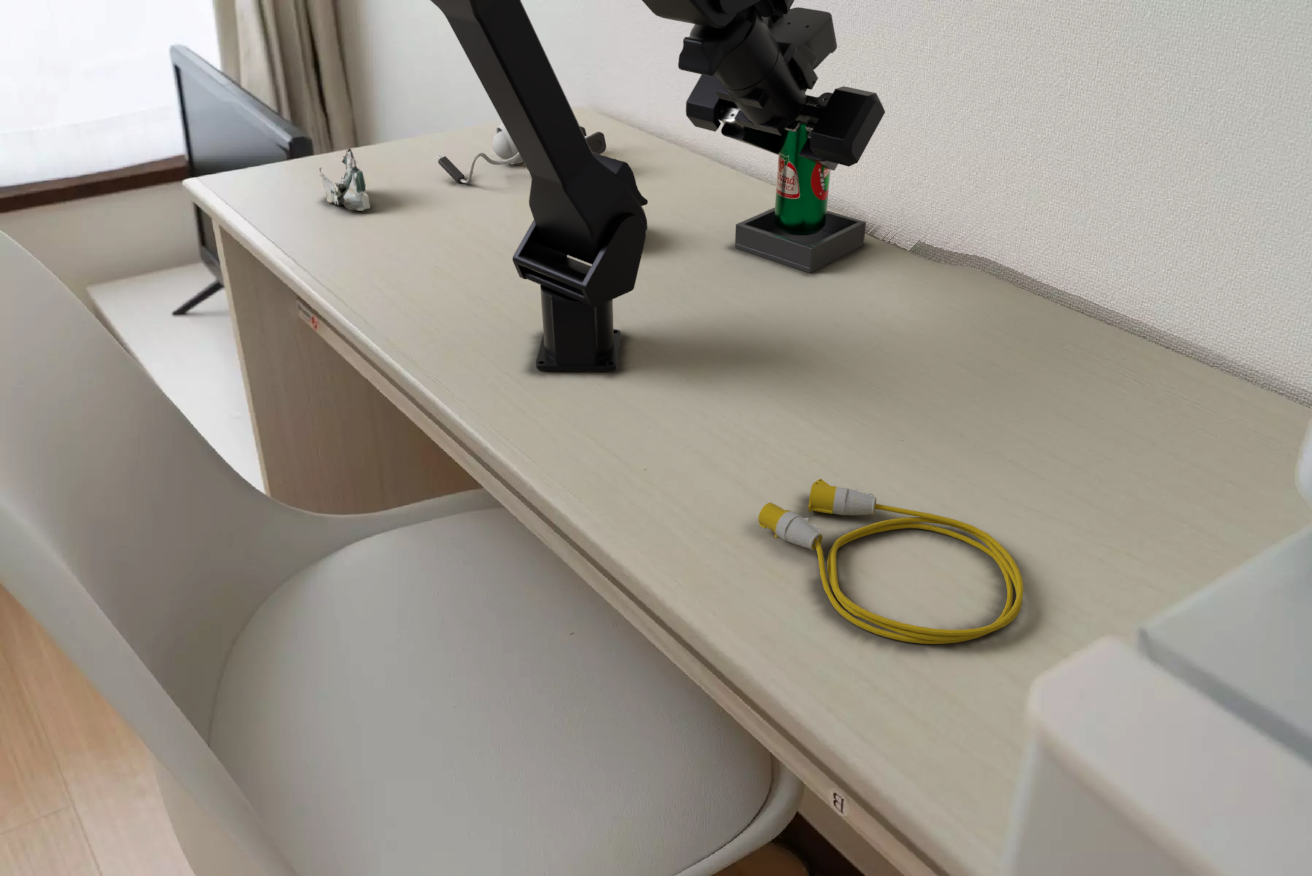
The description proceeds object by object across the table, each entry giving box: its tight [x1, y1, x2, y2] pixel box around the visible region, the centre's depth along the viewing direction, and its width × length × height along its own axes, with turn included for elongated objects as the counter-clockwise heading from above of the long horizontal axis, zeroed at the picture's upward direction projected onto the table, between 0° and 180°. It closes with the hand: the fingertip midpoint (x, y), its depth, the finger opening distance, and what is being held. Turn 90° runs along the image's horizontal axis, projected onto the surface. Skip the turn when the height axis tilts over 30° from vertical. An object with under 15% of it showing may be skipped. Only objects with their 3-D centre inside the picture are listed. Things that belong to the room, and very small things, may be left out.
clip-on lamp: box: [436, 122, 607, 184], centre depth 124 cm, size 12×6×18 cm
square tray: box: [734, 207, 867, 274], centre depth 106 cm, size 9×9×2 cm
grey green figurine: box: [318, 147, 371, 212], centre depth 115 cm, size 4×8×7 cm, turn 31°
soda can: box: [774, 123, 832, 236], centre depth 102 cm, size 5×5×12 cm
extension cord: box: [757, 478, 1024, 645], centre depth 64 cm, size 12×16×2 cm
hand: (812, 159), depth 103 cm, fingers closed on soda can, 5 cm apart
